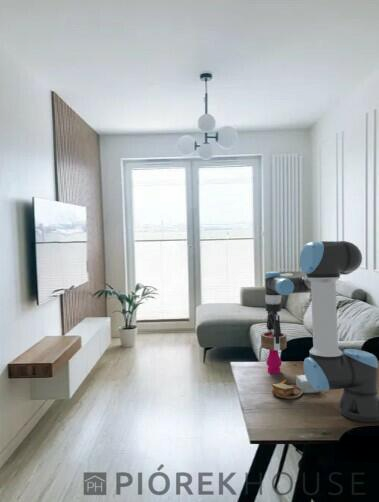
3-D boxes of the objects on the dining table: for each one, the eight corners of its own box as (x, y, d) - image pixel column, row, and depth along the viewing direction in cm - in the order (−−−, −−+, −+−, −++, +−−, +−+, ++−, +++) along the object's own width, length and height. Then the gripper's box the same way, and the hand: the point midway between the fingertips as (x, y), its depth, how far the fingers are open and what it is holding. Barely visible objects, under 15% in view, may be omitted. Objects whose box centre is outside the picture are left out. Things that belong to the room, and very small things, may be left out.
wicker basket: (289, 349, 178) (289, 337, 178) (264, 350, 178) (264, 338, 178) (282, 343, 190) (282, 331, 190) (259, 343, 190) (259, 332, 190)
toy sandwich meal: (308, 396, 156) (308, 384, 156) (284, 402, 150) (283, 391, 150) (288, 386, 167) (287, 375, 167) (264, 392, 161) (264, 381, 161)
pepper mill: (277, 375, 180) (277, 334, 179) (264, 372, 184) (263, 332, 183) (283, 371, 185) (283, 331, 185) (270, 368, 190) (269, 329, 189)
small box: (319, 392, 159) (319, 380, 159) (301, 393, 159) (301, 381, 158) (313, 385, 167) (313, 374, 166) (295, 386, 166) (295, 374, 166)
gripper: (287, 307, 172) (288, 353, 172) (274, 299, 196) (274, 339, 196) (271, 307, 172) (272, 353, 172) (260, 299, 196) (260, 339, 196)
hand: (273, 346), depth 184 cm, fingers closed on wicker basket, 12 cm apart
